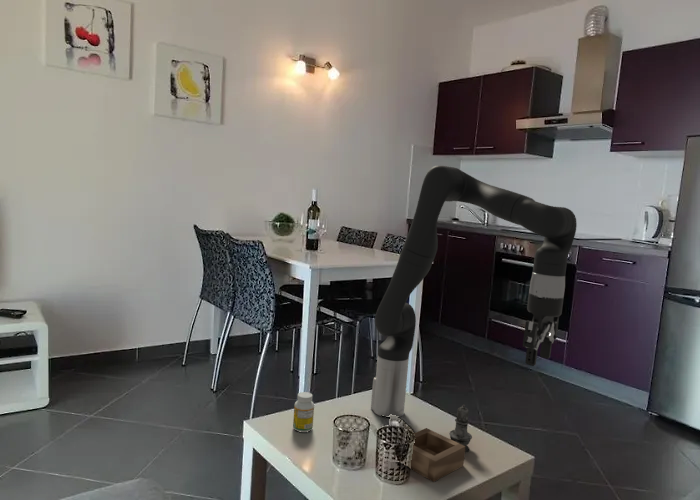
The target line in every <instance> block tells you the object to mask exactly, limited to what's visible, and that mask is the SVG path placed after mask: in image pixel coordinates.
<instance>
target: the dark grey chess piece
mask: <svg viewBox="0 0 700 500" xmlns="http://www.w3.org/2000/svg"><path fill="white" fill-rule="evenodd" d="M465 406H466V405H465V403H464V404H462V405H461V406H460V407H458V408H457V412H456V418H455V419H454V421H455V427H454V429H453V430H450V431H449V432H448V433H449V436H450V438H449V439H451V440H453V441H455V442H457V443H459V444H461V445H464V446H465V454H467V453H468V452H470V447H469V446H468V445H469V444H470V442H471V440H472V438H473V435H472V434H471V433H470V432H468V426H469V423H470V421H469V414H470V413H469V412H470V411H469V409H468V408H467V407H465Z"/></svg>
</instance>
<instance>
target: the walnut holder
mask: <svg viewBox="0 0 700 500" xmlns="http://www.w3.org/2000/svg"><path fill="white" fill-rule="evenodd" d="M414 434H415V438H416V440H415V443H414V445H413V454H412V460H411V469H410V470H411V471H413V472H415V473H417V474H419V475H420V476H422V477H424V478H426V479H428V480H429V481H430V482H432V483H435V482H436V481H438V480H440V479H442V478H443V477H445V476H447V475H449V474H450V473H453V472H454V471H456V470H458V469H460V468H462V467H464V463H465V455H466V453H465V446H464V445H461V444H459V443H457V442H455V441H453V440H451V438H448V437H447V436H444V435H442V434H441V433H439V432H436V431H434V430H431V429H430V428H427V427H426V428H424V429H421V430H418V431H415V432H414Z"/></svg>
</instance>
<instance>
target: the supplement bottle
mask: <svg viewBox="0 0 700 500" xmlns="http://www.w3.org/2000/svg"><path fill="white" fill-rule="evenodd" d="M296 398H297V400H296V401H295V402H294V408H293V422H292V423H293V424H292V429H293V428H294V429H295V430H297V431H301V432H307V431H310V430H311V429H312V428H313V427H314V415H315V403H314V402H313V394H312V393H311V392H308V391H303V392H302V391H301V392H298V393H297V397H296ZM294 429H293V430H294ZM295 430H294V431H295ZM312 430H313V429H312ZM312 430H311V431H312ZM311 431H310V432H311ZM307 433H308V432H307Z"/></svg>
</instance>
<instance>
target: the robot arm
mask: <svg viewBox="0 0 700 500" xmlns="http://www.w3.org/2000/svg"><path fill="white" fill-rule="evenodd" d="M422 181H423V182H422V185H421V187H420V194H419V196H418V197H419V198H418V201H417V205H416V209H415V212H414V215H413V218H412V221H411V225H410V228H409V230H408V233H407V236H406V239H405V241H404V244H403V245H402V249H401V252H400V254H399V257H398V261H397V264H396V266H395V268H394V272H393V273H392V276H391V279H390V282H389V283H388V287H387V289H386V291H385V293H384V295H383V297H382V299H381V301H380V303H379V305H378V307H377V310H376V313H375V317H374V322H375V323H374V324H375V327H376V330H377V332H378V333H379V334H380V335H382V336H385V337H386V336H387V337H386V339H384V341H383V342H382V343H380V344H379V345H378V349H377V359H376V360H377V361H376V371H375V372H376V375H375V377H373V379H372V390H371V401H370V402H371V404H370V410H372V412H374V414H375V415H377V416H379V417H382V416H381V415H384V416H389V415H390V414H392V415H396V416H399V417H398V418H400V417H401V418H402V417H403V416H404V414H405V403H406V394H407V393H406V392H407V385H408V384H407V381H408V371H409V361H410V359H409V358H410V353H411V351H412V349H413V345H414V339H415V331H416V322H417V320H416V319H417V317H416V312H415V309H414V308H413V306H412V305H411V304H409V303H408V302H407V301H408V299H409V298H410V296H411V294H412V292H414V290H415V289H416V288H417V287H418V286H419V285H420V283H421V282H422V281H423V280H424V279H425V278H426V276H427V275H428V273H429V271H430V270H431V268H432V265H433V262H434V261H435V258H436V254H437V252H438V247H439V245H438V244H439V243H438V241H439V237H438V227H437V226H438V220H439V216H440V214H441V212H442V209H443V207H444V204H445V203H446V202H459V203H460V202H461V203H465V204H470V205H474V206H477V207H479V208H481V209H483V210H484V211H486V212H488V213H489V214H491V215H493V216H495V217H497V218H499V219H501V220H503V221H507V222H509V223H512V224H515V225H518V226H521V227H523V228H524V229H527V230H528V231H530V232H532V233H534V234H536V235H538V236H540V237H543V242H542V245H541V246H540V247H539V248H537V249H536V250H535V254H534V259H533V268H532V273H531V278H530V282H529V290H528V298H527V299H528V300H527V307H526V310H527V312H529V313H531V314H532V315H533V316H532V320H526V321H525V326H524V334H523V337H522V338H523V339H522V347H524V348H526V351H525V352H526V353H525V361H524V363H525V364H526V365H528V366H531V367H535V366H536V365H537V358H538V349H539V346H540V351H539V352H540V353H539V356H540V358H543V359H550V358H551V354H552V348H553V347H552V344H554V343H555V342H554V341H555V340H557V338H558V331H559V330H558V329H559V321H560V320H559V319H560V316H561V315H562V314H563V313H562V312H563V305H564V297H565V289H566V275H567V274H566V271H567V265H568V256H569V255H570V254H569V253H570V251H571V249H572V245H573V243H574V240H575V238H576V237H575V236H576V232H577V227H578V226H577V216H576V215H575V213H574V212H573V211H572V210H571V208H570V209H569V208H568V207H564V206H553V205H548V204H545V203H542V202H538V201H536V200H535V199H533V198H531V197H530V196H527V195H523V194H521V193H518V192H515V191H512V190H509V189H505V188H501V187H498V186H495V185H491V184H490V183H489V184H488V183H486V182H483V181H481V180H479V179H477V178H475V177H473V176H471V175H470V174H468V173H466V172H464V171H463V170H461V169H459V168H458V167H453V166H446V165H434V166H432V167H431V168H430V169H429V170H428V171H427V172H426V174H425V176H424V179H423V180H422ZM540 344H541V345H540Z"/></svg>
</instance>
